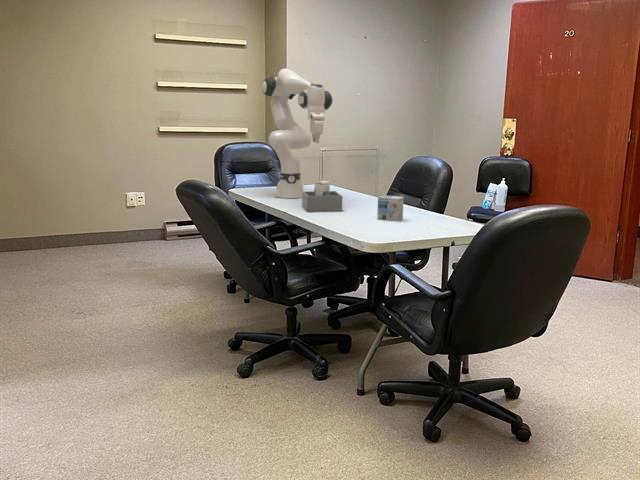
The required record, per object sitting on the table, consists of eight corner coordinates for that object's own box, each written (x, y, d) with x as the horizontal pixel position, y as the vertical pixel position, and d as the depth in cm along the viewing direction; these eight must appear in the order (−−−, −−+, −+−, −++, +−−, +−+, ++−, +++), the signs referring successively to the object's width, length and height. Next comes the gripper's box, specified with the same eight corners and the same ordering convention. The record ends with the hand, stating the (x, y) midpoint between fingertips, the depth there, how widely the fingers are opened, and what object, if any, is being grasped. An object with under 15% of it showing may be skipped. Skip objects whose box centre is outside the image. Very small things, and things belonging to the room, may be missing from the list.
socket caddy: (302, 206, 314) (302, 191, 313) (335, 205, 317) (335, 191, 316) (306, 212, 297) (307, 196, 295) (342, 211, 300) (342, 195, 298)
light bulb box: (376, 219, 278) (377, 196, 276) (382, 217, 284) (382, 195, 282) (398, 221, 273) (399, 198, 271) (403, 219, 279) (404, 196, 277)
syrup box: (320, 207, 311) (321, 180, 308) (329, 209, 307) (329, 181, 304) (313, 209, 306) (314, 181, 303) (322, 210, 303) (322, 182, 300)
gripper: (307, 115, 319) (307, 141, 323) (313, 116, 300) (312, 143, 303) (318, 115, 321) (318, 141, 324) (325, 116, 301) (324, 143, 304)
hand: (315, 142), depth 313 cm, fingers open, 8 cm apart
